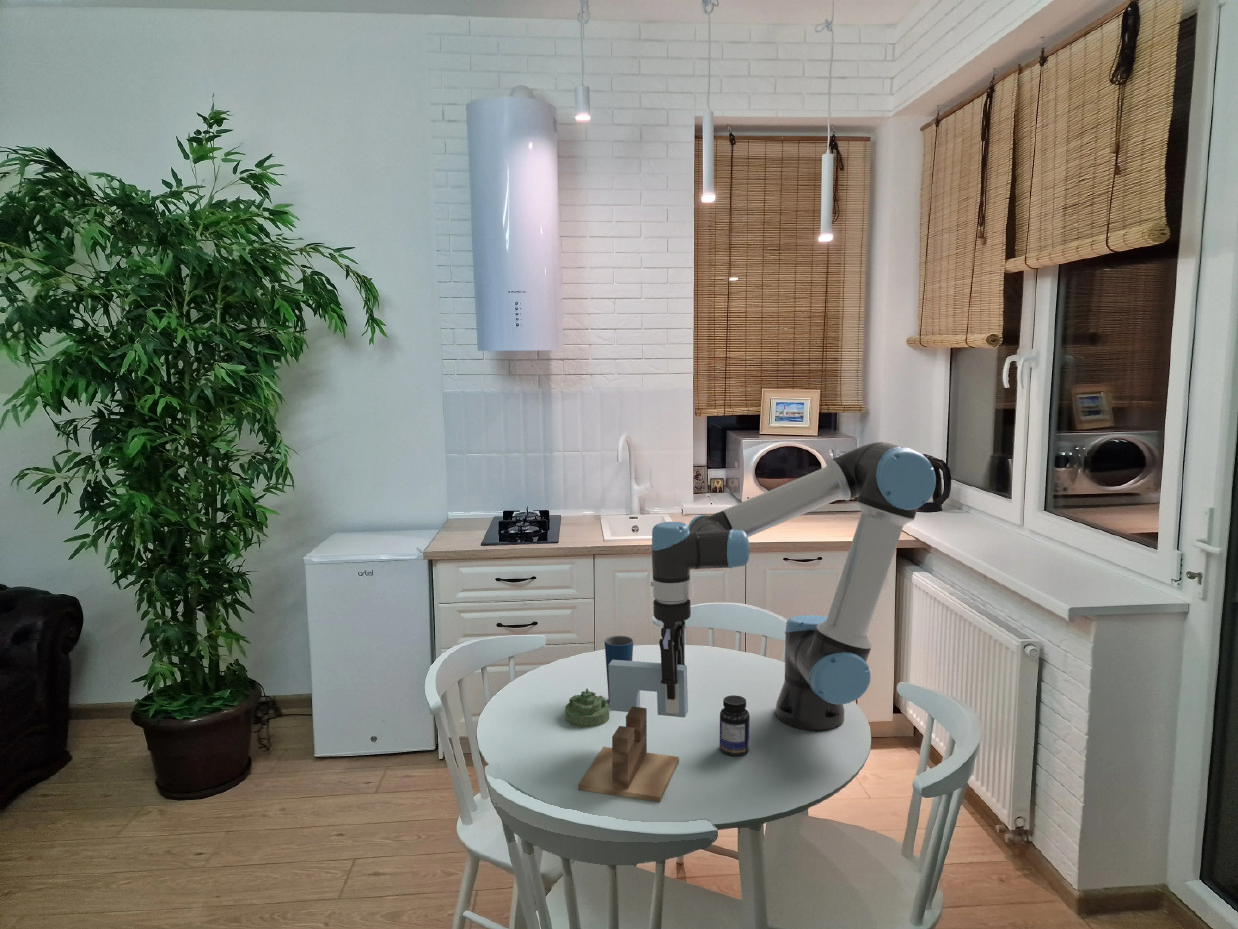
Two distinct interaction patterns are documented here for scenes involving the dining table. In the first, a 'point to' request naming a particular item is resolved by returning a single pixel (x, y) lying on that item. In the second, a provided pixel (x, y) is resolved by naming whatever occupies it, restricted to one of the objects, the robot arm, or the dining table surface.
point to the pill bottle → (734, 726)
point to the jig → (630, 764)
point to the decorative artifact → (587, 710)
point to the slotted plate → (643, 685)
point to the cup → (617, 651)
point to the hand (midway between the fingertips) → (674, 708)
